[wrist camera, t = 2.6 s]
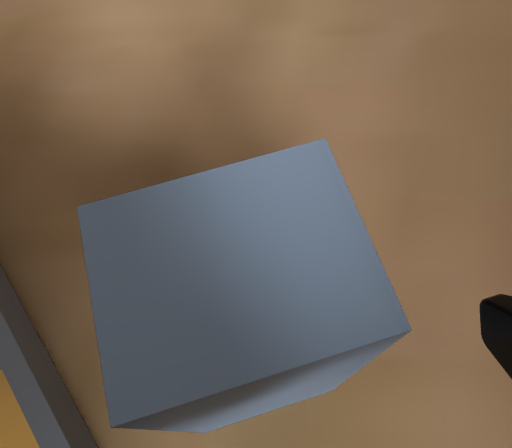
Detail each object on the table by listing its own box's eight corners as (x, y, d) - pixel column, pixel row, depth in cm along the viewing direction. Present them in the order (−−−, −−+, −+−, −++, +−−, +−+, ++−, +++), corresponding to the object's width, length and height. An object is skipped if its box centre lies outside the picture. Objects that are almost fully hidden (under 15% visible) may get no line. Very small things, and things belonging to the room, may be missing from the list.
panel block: (331, 390, 17) (411, 330, 7) (205, 432, 17) (110, 427, 7) (297, 293, 19) (325, 137, 9) (181, 329, 19) (76, 206, 9)
